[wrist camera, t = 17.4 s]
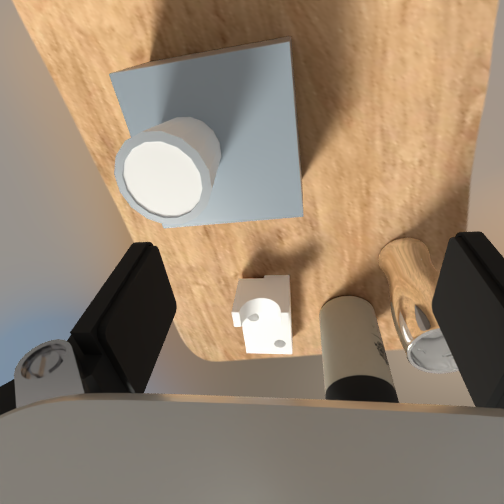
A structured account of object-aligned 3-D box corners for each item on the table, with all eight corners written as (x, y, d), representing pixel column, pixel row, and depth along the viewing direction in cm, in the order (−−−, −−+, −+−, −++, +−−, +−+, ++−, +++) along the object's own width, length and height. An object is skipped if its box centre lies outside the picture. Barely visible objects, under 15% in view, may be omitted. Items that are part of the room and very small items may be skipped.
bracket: (239, 274, 48) (231, 312, 42) (289, 273, 47) (288, 312, 41) (249, 335, 55) (243, 375, 49) (292, 336, 54) (291, 377, 48)
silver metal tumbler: (421, 280, 45) (468, 379, 32) (368, 275, 45) (395, 370, 33) (440, 236, 41) (502, 330, 28) (382, 231, 41) (418, 321, 29)
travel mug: (322, 334, 53) (333, 456, 38) (315, 297, 48) (323, 418, 34) (375, 329, 51) (407, 456, 36) (372, 291, 47) (407, 416, 32)
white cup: (188, 201, 31) (164, 240, 26) (133, 142, 29) (93, 171, 23) (244, 159, 28) (231, 193, 23) (189, 89, 26) (159, 107, 20)
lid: (113, 72, 26) (108, 73, 26) (289, 40, 24) (289, 41, 23) (165, 224, 34) (163, 228, 34) (303, 212, 32) (303, 216, 31)
